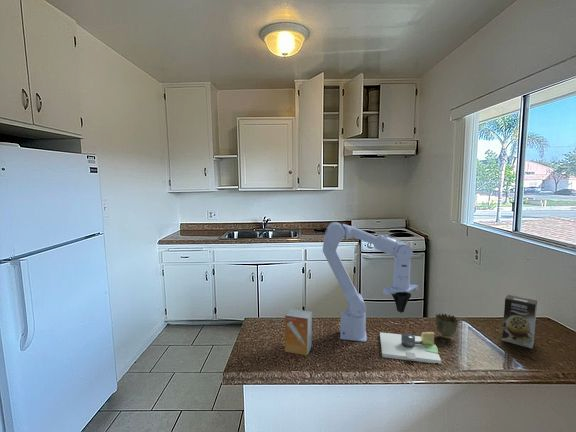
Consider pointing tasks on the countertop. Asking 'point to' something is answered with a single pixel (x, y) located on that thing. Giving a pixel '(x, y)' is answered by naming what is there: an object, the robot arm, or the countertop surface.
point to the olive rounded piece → (446, 325)
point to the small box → (298, 331)
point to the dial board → (408, 349)
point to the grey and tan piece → (409, 341)
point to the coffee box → (519, 321)
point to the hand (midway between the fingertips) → (400, 311)
